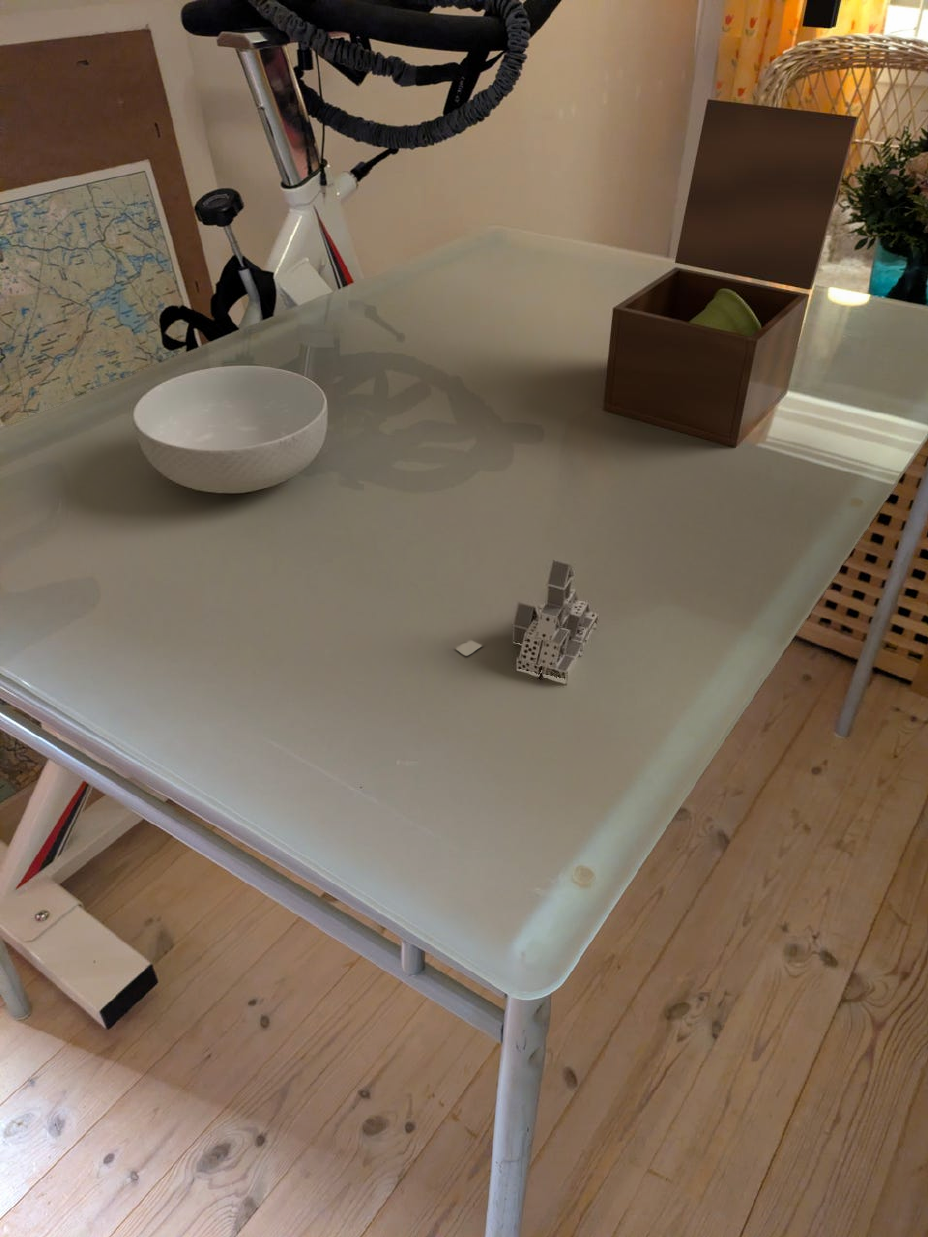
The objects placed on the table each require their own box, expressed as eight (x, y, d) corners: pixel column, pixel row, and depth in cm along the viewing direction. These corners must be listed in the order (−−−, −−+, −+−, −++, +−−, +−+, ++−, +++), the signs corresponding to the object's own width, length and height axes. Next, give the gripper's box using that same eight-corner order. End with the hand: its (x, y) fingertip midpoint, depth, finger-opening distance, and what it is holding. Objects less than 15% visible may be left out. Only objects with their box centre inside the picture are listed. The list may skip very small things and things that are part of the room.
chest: (735, 447, 93) (757, 341, 86) (602, 409, 99) (612, 307, 92) (786, 393, 102) (809, 293, 95) (662, 362, 109) (675, 266, 102)
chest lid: (856, 116, 87) (859, 116, 88) (707, 98, 94) (710, 99, 94) (809, 289, 95) (811, 289, 95) (674, 262, 101) (677, 262, 102)
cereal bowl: (172, 540, 80) (155, 465, 76) (130, 453, 92) (114, 385, 87) (360, 492, 86) (354, 421, 82) (298, 417, 98) (291, 351, 93)
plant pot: (673, 341, 91) (751, 294, 91) (635, 326, 99) (707, 282, 99) (706, 424, 95) (780, 379, 95) (667, 402, 104) (736, 361, 103)
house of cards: (500, 586, 75) (503, 502, 70) (606, 615, 72) (616, 530, 67) (451, 653, 69) (450, 566, 64) (565, 688, 66) (573, 600, 61)
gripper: (864, -303, 83) (803, 16, 98) (814, -322, 74) (756, 31, 89) (954, -310, 80) (877, 21, 94) (914, -331, 71) (836, 37, 86)
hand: (818, 25), depth 92 cm, fingers closed
